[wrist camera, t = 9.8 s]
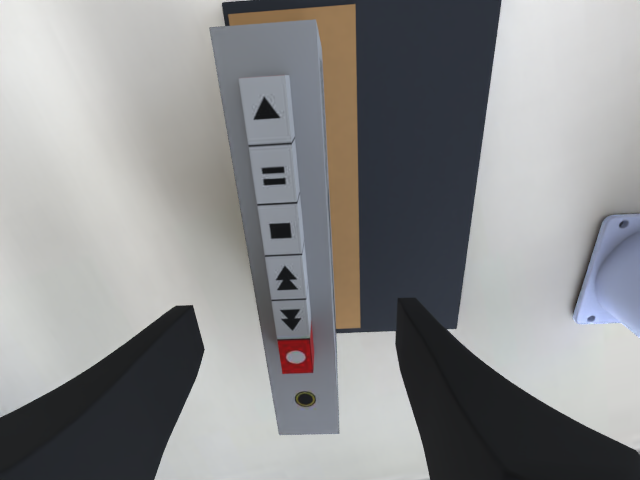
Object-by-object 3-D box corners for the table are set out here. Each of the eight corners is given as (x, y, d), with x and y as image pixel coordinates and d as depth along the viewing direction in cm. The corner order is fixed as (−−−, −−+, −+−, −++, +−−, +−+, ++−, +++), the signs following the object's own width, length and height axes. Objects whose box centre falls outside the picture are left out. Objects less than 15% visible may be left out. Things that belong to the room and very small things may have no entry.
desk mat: (498, -18, 16) (506, -22, 15) (453, 323, 24) (457, 330, 24) (224, 4, 17) (220, 1, 16) (274, 330, 25) (273, 336, 24)
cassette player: (335, 309, 23) (340, 456, 14) (296, 310, 23) (276, 457, 14) (321, 48, 17) (314, 12, 8) (267, 52, 17) (195, 21, 8)
